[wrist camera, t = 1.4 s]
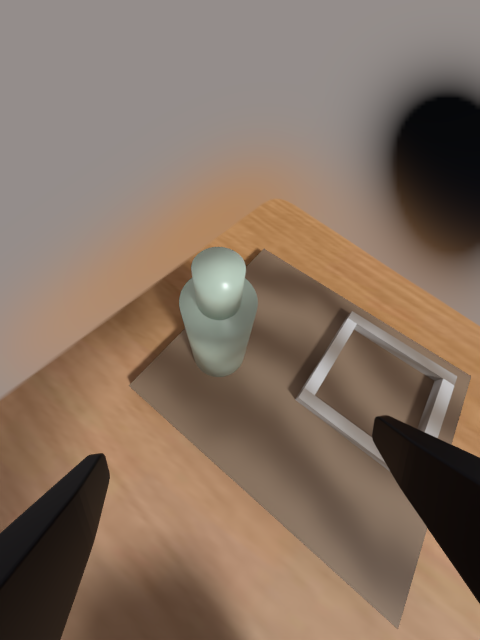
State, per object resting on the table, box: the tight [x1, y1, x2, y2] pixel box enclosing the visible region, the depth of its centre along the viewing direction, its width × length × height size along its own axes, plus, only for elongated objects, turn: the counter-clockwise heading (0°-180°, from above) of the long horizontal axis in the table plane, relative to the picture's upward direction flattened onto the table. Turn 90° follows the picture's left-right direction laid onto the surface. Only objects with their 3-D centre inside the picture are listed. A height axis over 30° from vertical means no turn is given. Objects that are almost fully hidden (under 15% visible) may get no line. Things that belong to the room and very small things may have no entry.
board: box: [129, 249, 471, 629], centre depth 22 cm, size 20×24×2 cm
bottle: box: [179, 247, 258, 377], centre depth 17 cm, size 5×5×12 cm
